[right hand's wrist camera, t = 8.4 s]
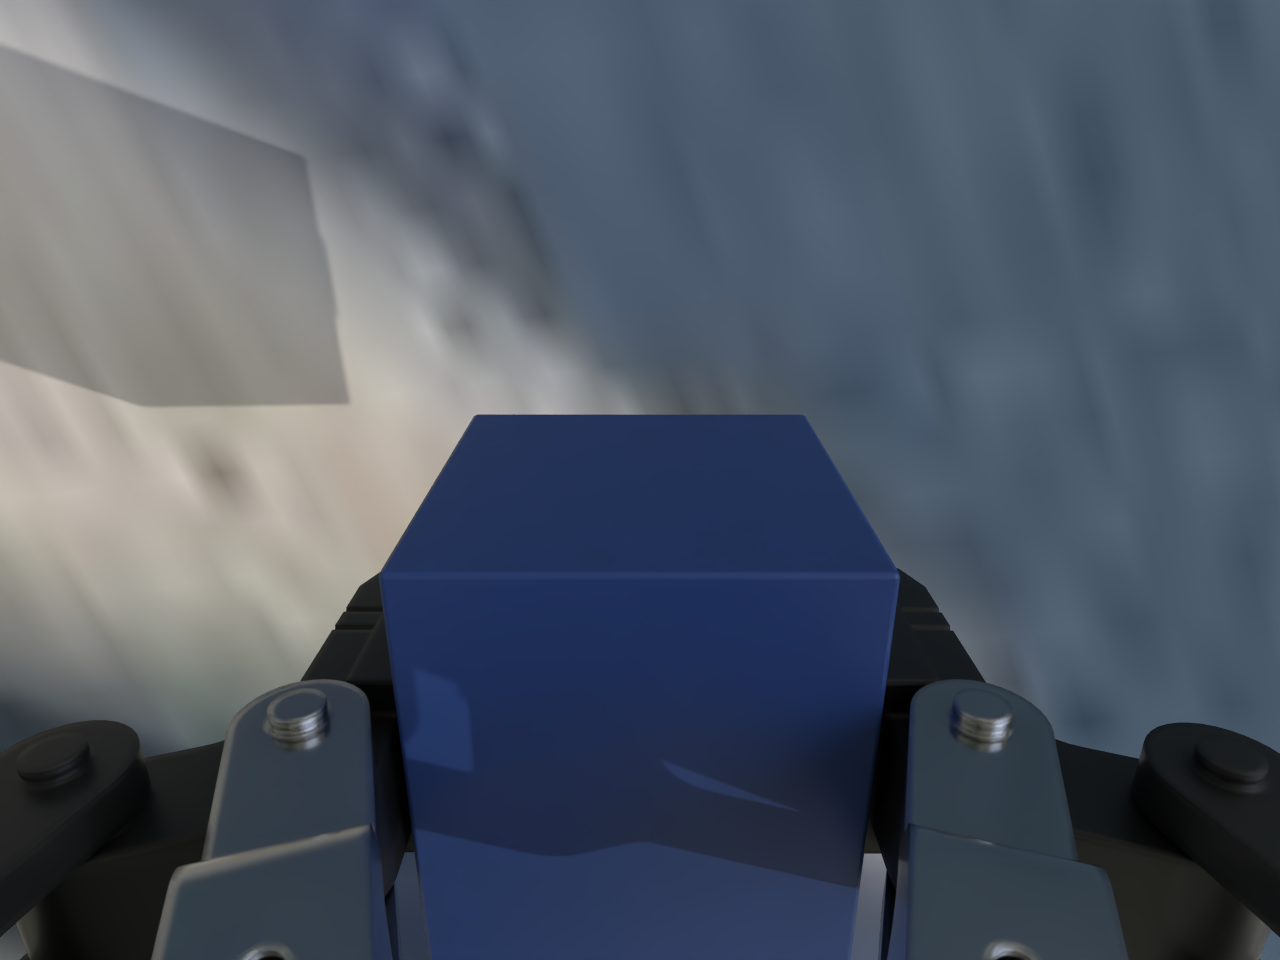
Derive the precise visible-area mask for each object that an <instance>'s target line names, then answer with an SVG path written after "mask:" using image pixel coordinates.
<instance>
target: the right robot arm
mask: <svg viewBox="0 0 1280 960" xmlns="http://www.w3.org/2000/svg"><path fill="white" fill-rule="evenodd" d="M896 569H897V570H898V572H899V575H900V582H899V589H898V597H897V605H896V612H895V620H894V628H893V635H892V643H891V651H890V658H889V666H888V674H887V681H886V689H885V697H884V704H883V712H882V720H881V727H880V735H879V743H878V750H877V758H876V766H875V773H874V781H873V788H872V796H871V804H870V811H869V819H868V827H867V834H866V842H865V850H864V853H881V854H882V857H883V860H884V863H885V866H886V869H887V871H886V878H885V885H884V892H883V899H882V911H881V925H880V939H879V953H878V960H1260V959H1259V958H1260V956H1261V953H1262V951H1263V948H1264V945H1265V943H1266V940H1267V938H1268V935H1269V932H1270V930H1272V931H1273V932H1275V933H1276V934H1277V935H1278V936H1279V937H1280V754H1279V753H1278V752H1276V751H1275V750H1273V749H1271V748H1270V747H1268V746H1266V745H1264V744H1262V743H1260V742H1258V741H1256V740H1253V739H1251V738H1249V737H1246V736H1244V735H1241V734H1239V733H1236V732H1233V731H1230V730H1226V729H1223V728H1219V727H1215V726H1210V725H1205V724H1197V723H1172V724H1166V725H1162V726H1159V727H1157V728H1155V729H1153V730H1152V731H1150V733H1149V734H1148V735H1147V736H1146V738H1145V741H1144V744H1143V747H1142V751H1141V755H1140V758H1139V759H1137V758H1133V757H1128V756H1123V755H1118V754H1113V753H1108V752H1104V751H1099V750H1094V749H1089V748H1084V747H1080V746H1076V745H1072V744H1068V743H1065V742H1062V741H1059V740H1056V739H1055V737H1054V732H1053V729H1052V726H1051V724H1050V723H1049V721H1048V719H1047V718H1046V717H1045V715H1044V714H1043V713H1042V712H1041V711H1040V710H1039V709H1038V708H1037V707H1035V706H1034V705H1033V704H1032V703H1030V702H1029V701H1027V700H1026V699H1024V698H1023V697H1021V696H1019V695H1017V694H1015V693H1013V692H1011V691H1009V690H1006V689H1004V688H1002V687H999V686H995V685H992V684H989V683H986V682H985V680H984V679H983V677H982V676H981V674H980V672H979V671H978V669H977V668H976V666H975V665H974V663H973V661H972V660H971V658H970V657H969V655H968V654H967V652H966V650H965V649H964V647H963V646H962V644H961V643H960V641H959V639H958V638H957V636H956V635H955V633H954V632H953V631H950V625H949V624H948V622H947V621H946V619H945V617H944V616H943V614H942V613H939V608H938V606H937V605H936V603H935V602H934V600H933V599H932V597H931V595H930V594H929V592H928V591H927V589H926V588H925V586H923V585H922V584H920V583H919V582H917V581H916V580H914V579H913V578H911V577H910V576H909V575H907V574H906V573H904V572H903V571H901V570H900V569H898V568H896ZM379 575H380V573H378V574H377V575H375V576H374V577H372V578H371V579H369V580H368V581H367V582H365V583H364V584H362V585H361V586H360V587H359V588H358V590H357V591H356V593H355V595H354V596H353V598H352V599H351V601H350V603H349V604H348V606H347V607H346V608H347V610H346V612H343V614H342V615H341V617H340V619H339V620H338V622H337V623H336V625H335V630H332V631H331V633H330V635H329V636H328V638H327V639H326V641H325V643H324V644H323V646H322V647H321V649H320V651H319V652H318V654H317V655H316V657H315V659H314V660H313V662H312V663H311V665H310V667H309V668H308V670H307V671H306V673H305V675H304V676H303V678H302V679H301V681H300V682H296V683H291V684H288V685H285V686H281V687H278V688H276V689H274V690H271V691H269V692H267V693H265V694H263V695H261V696H259V697H257V698H256V699H254V700H253V701H251V702H250V703H248V704H247V705H246V706H245V707H243V708H242V709H241V710H240V711H239V712H238V713H237V714H236V715H235V717H234V718H233V719H232V721H231V723H230V724H229V726H228V729H227V732H226V737H225V740H224V741H221V742H218V743H214V744H210V745H206V746H201V747H196V748H192V749H187V750H182V751H177V752H172V753H168V754H163V755H158V756H153V757H148V758H144V756H143V752H142V748H141V745H140V741H139V738H138V736H137V733H136V732H135V731H134V730H133V729H132V728H130V727H129V726H127V725H125V724H122V723H119V722H114V721H106V720H93V721H83V722H77V723H72V724H67V725H63V726H59V727H56V728H52V729H50V730H47V731H44V732H41V733H38V734H36V735H34V736H31V737H29V738H27V739H25V740H23V741H21V742H19V743H17V744H15V745H13V746H12V747H10V748H8V749H7V750H5V751H4V752H2V753H0V937H1V936H2V935H3V934H4V933H5V932H7V931H8V930H9V929H10V928H11V927H12V926H13V925H14V924H17V927H18V929H19V932H20V935H21V937H22V940H23V943H24V945H25V948H26V951H27V954H26V955H24V956H23V957H22V958H21V959H20V960H402V953H401V939H400V925H399V911H398V899H397V892H396V885H395V879H396V877H397V874H398V871H399V868H400V865H401V862H402V859H403V856H404V853H405V852H415V851H414V843H413V835H412V828H411V820H410V812H409V805H408V797H407V789H406V782H405V774H404V766H403V759H402V751H401V743H400V736H399V728H398V720H397V713H396V705H395V697H394V690H393V682H392V674H391V667H390V659H389V651H388V644H387V636H386V628H385V621H384V613H383V605H382V598H381V590H380V582H379Z"/></svg>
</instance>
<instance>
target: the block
mask: <svg viewBox="0 0 1280 960" xmlns="http://www.w3.org/2000/svg"><path fill="white" fill-rule="evenodd" d="M379 582H380V590H381V598H382V605H383V613H384V621H385V628H386V636H387V644H388V651H389V659H390V667H391V674H392V682H393V690H394V697H395V705H396V713H397V720H398V728H399V736H400V743H401V751H402V759H403V766H404V774H405V782H406V789H407V797H408V805H409V812H410V820H411V828H412V835H413V843H414V851H415V858H416V866H417V874H418V881H419V889H420V897H421V904H422V912H423V920H424V927H425V935H426V943H427V950H428V958H429V960H850V957H851V949H852V942H853V934H854V926H855V919H856V911H857V903H858V896H859V888H860V880H861V873H862V865H863V857H864V850H865V842H866V834H867V827H868V819H869V811H870V804H871V796H872V788H873V781H874V773H875V766H876V758H877V750H878V743H879V735H880V727H881V720H882V712H883V704H884V697H885V689H886V681H887V674H888V666H889V658H890V651H891V643H892V635H893V628H894V620H895V612H896V605H897V597H898V589H899V582H900V575H899V572H898V570H897V569H896V567H895V565H894V564H893V562H892V560H891V559H890V557H889V555H888V554H887V552H886V550H885V549H884V547H883V545H882V544H881V542H880V540H879V539H878V537H877V535H876V534H875V532H874V530H873V529H872V527H871V525H870V524H869V522H868V520H867V519H866V517H865V515H864V514H863V512H862V510H861V509H860V507H859V505H858V504H857V502H856V500H855V499H854V497H853V495H852V494H851V492H850V490H849V489H848V487H847V485H846V484H845V482H844V480H843V479H842V477H841V475H840V474H839V472H838V470H837V469H836V467H835V465H834V464H833V462H832V460H831V459H830V457H829V455H828V454H827V452H826V450H825V449H824V447H823V445H822V444H821V442H820V440H819V439H818V437H817V435H816V434H815V432H814V430H813V429H812V427H811V425H810V424H809V422H808V420H807V418H806V417H805V416H803V415H476V416H474V417H473V419H472V421H471V422H470V424H469V426H468V427H467V429H466V431H465V432H464V434H463V436H462V437H461V439H460V441H459V442H458V444H457V446H456V447H455V449H454V451H453V452H452V454H451V456H450V457H449V459H448V461H447V462H446V464H445V466H444V467H443V469H442V471H441V472H440V474H439V476H438V477H437V479H436V480H435V482H434V484H433V485H432V487H431V489H430V490H429V492H428V494H427V495H426V497H425V499H424V500H423V502H422V504H421V505H420V507H419V509H418V510H417V512H416V514H415V515H414V517H413V519H412V520H411V522H410V524H409V525H408V527H407V529H406V530H405V532H404V534H403V535H402V537H401V539H400V540H399V542H398V544H397V545H396V547H395V549H394V550H393V552H392V554H391V555H390V557H389V559H388V560H387V562H386V563H385V565H384V567H383V568H382V570H381V572H380V575H379Z"/></svg>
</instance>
